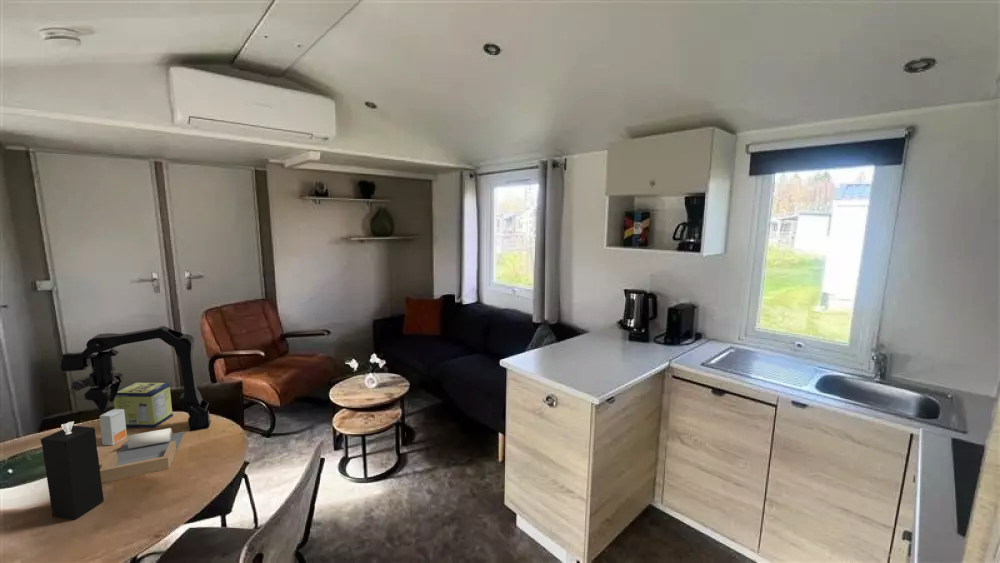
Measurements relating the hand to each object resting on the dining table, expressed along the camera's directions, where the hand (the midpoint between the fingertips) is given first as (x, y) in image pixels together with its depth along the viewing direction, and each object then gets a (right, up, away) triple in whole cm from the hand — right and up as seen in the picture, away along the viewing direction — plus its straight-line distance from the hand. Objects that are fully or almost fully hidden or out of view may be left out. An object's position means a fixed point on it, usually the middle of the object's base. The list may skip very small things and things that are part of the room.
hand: (107, 406), depth 155 cm
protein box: (-1, -12, +18) cm, 22 cm away
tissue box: (+24, -21, -33) cm, 46 cm away
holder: (+20, -16, -6) cm, 26 cm away
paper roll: (+17, -12, 0) cm, 21 cm away
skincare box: (0, -15, +3) cm, 15 cm away
